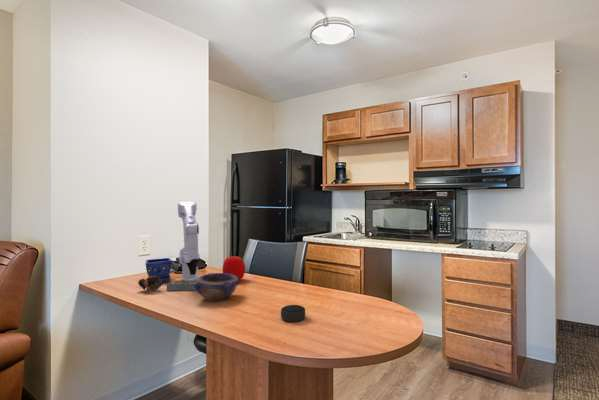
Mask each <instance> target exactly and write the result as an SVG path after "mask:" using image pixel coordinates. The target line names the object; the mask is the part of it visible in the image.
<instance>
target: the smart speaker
mask: <svg viewBox="0 0 599 400" xmlns="http://www.w3.org/2000/svg"><path fill="white" fill-rule="evenodd" d="M280 318H281V320H282V321H284V322H288V323H297V322H301V321H303V320H304V319H306V308H305V307H304V306H303V305H299V304H289V305H285V306H283V307H282V308H281V309H280Z"/></svg>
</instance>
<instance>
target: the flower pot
mask: <svg viewBox="0 0 599 400" xmlns="http://www.w3.org/2000/svg"><path fill="white" fill-rule="evenodd" d="M145 270H146V273H147V277H150V276H157V277H159V278H160V279H161V281H162V283H166V282H170V280H171V275H170V274H171V270H172V259H171V257H166V258H165V257H162V258H153V259H152V258H150V259H145ZM158 283H159V280H157V281H156V284H158Z"/></svg>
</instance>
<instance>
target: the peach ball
mask: <svg viewBox="0 0 599 400" xmlns="http://www.w3.org/2000/svg"><path fill="white" fill-rule="evenodd" d="M174 281H175V282H176V284H183V283H184V278H183V277H182V278H175V279H174Z"/></svg>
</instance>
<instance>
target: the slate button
mask: <svg viewBox="0 0 599 400" xmlns="http://www.w3.org/2000/svg"><path fill="white" fill-rule="evenodd" d="M197 279H198V278H191V279H189V284H194V283H195V282H196V281H197Z"/></svg>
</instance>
